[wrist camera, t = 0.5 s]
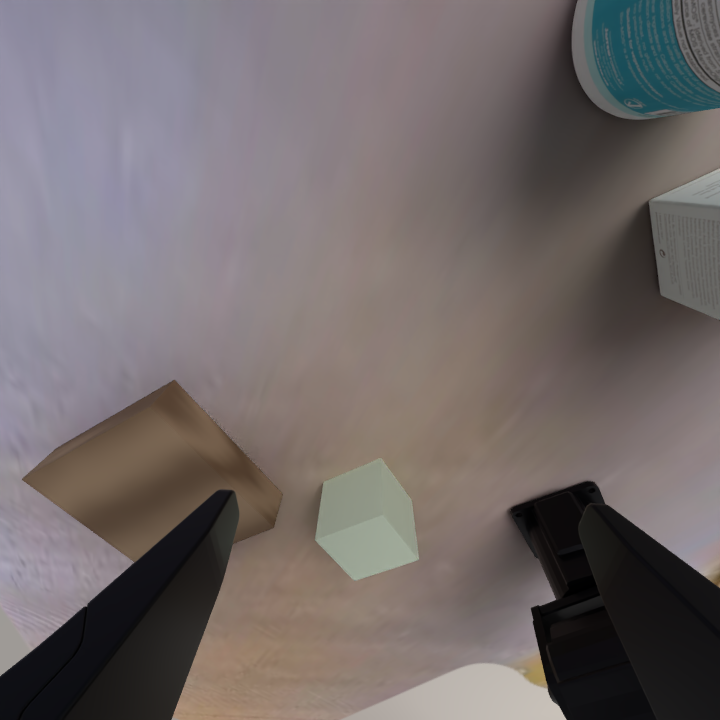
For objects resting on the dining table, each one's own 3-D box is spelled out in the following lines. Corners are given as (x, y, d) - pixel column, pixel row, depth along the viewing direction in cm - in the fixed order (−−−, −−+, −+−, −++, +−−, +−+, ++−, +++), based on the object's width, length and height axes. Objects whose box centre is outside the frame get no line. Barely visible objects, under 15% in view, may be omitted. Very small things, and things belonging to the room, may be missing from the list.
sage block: (411, 499, 29) (419, 559, 24) (356, 519, 30) (354, 581, 25) (380, 457, 27) (382, 514, 22) (323, 481, 28) (314, 540, 24)
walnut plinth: (282, 494, 29) (273, 527, 26) (171, 541, 32) (153, 575, 29) (174, 380, 24) (149, 406, 21) (55, 448, 27) (21, 479, 24)
